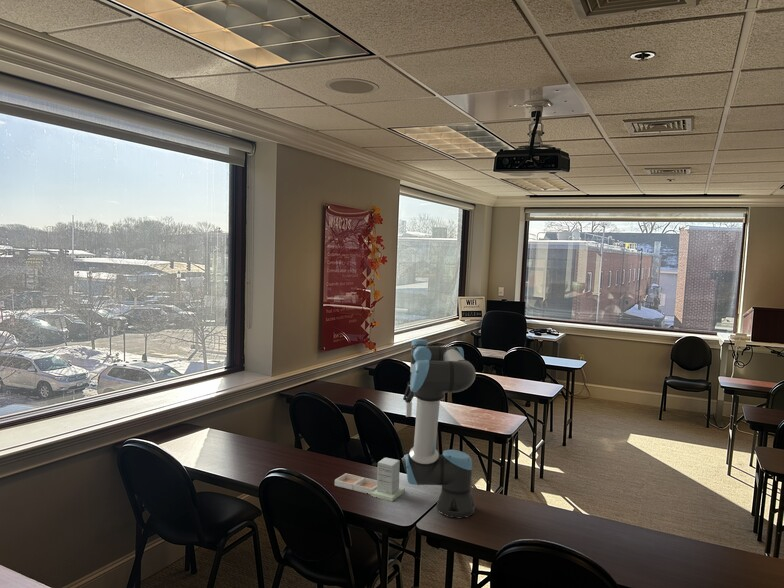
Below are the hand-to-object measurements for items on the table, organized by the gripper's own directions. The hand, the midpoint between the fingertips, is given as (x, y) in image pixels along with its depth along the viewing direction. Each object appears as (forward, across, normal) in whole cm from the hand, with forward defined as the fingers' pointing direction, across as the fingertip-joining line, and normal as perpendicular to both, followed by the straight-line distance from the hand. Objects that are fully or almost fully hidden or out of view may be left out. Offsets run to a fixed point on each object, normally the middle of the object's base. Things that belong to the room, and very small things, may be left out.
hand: (416, 419), depth 254 cm
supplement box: (+27, -9, +20) cm, 34 cm away
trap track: (+28, -1, +25) cm, 37 cm away
